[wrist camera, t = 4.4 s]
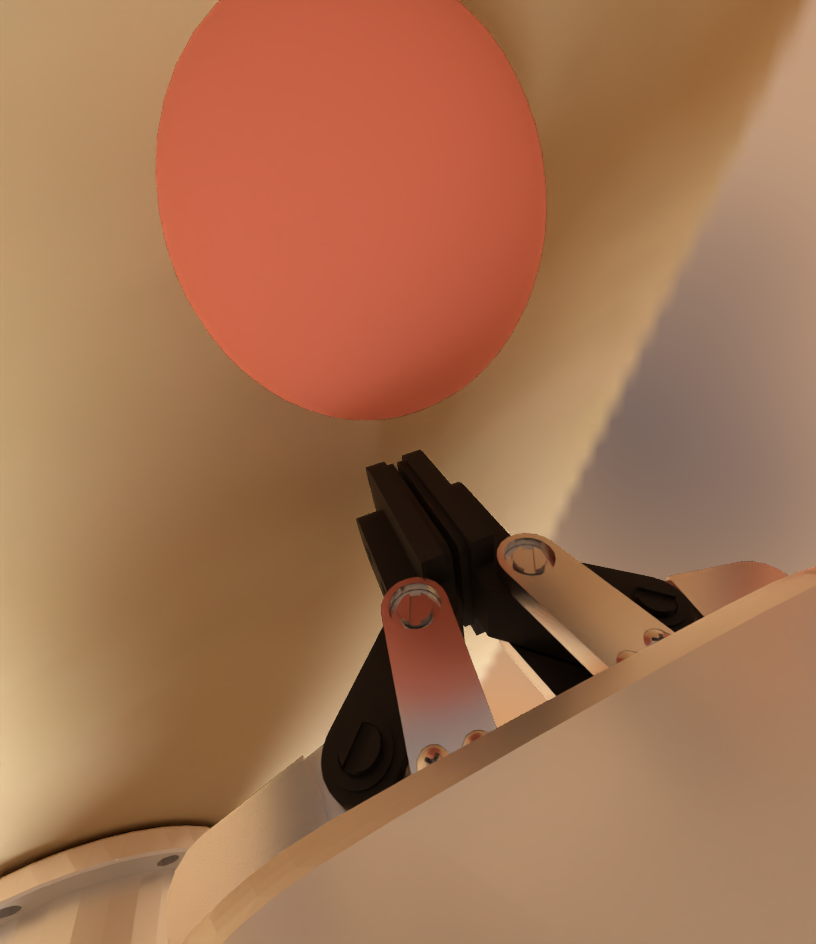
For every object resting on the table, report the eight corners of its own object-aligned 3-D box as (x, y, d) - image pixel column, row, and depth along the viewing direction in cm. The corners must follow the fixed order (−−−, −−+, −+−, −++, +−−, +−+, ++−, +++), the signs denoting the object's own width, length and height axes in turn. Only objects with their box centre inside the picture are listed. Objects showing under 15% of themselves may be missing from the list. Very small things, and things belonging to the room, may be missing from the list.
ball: (771, -99, 3) (451, 11, 7) (-160, -292, 2) (90, -13, 6) (564, 438, 7) (436, 321, 11) (255, 532, 6) (229, 359, 10)
